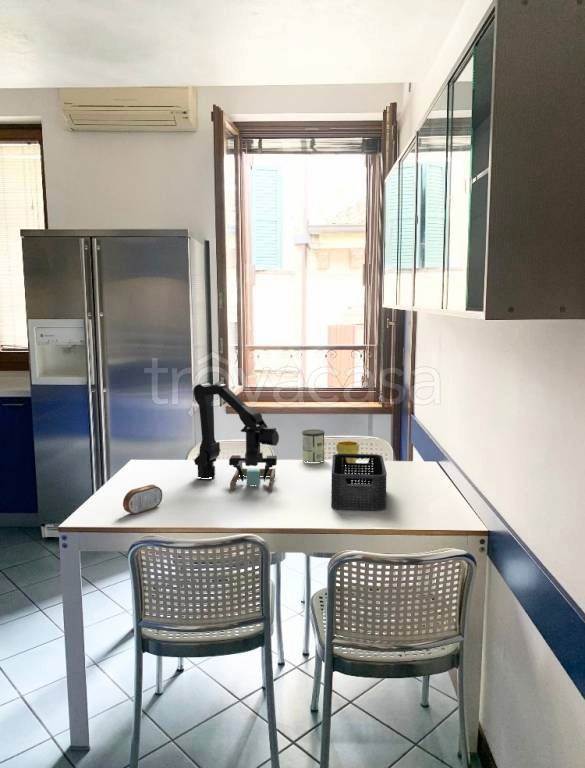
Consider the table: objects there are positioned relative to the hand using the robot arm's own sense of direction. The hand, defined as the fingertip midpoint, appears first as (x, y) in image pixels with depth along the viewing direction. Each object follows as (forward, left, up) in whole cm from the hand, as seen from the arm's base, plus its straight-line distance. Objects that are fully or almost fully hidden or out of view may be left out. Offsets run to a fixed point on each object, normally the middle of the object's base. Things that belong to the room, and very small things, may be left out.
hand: (253, 481), depth 228 cm
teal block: (0, 0, -1) cm, 1 cm away
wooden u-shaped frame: (0, 0, -1) cm, 1 cm away
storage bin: (+41, -16, -2) cm, 44 cm away
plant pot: (+40, +32, -2) cm, 51 cm away
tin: (-35, -32, -2) cm, 47 cm away
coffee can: (+24, +37, -2) cm, 44 cm away
